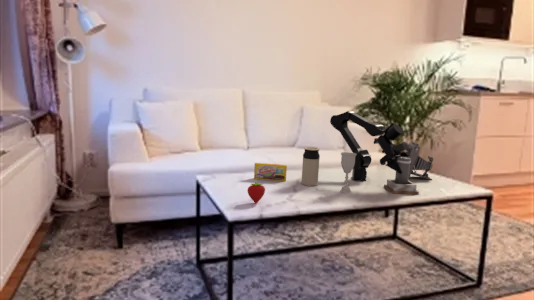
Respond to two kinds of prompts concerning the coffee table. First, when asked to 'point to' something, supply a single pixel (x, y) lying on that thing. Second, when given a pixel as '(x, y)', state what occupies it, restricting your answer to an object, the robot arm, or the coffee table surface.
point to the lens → (403, 170)
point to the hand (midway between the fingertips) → (404, 172)
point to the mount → (401, 187)
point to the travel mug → (310, 166)
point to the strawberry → (256, 191)
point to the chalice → (347, 168)
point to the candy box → (270, 171)
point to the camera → (418, 161)
